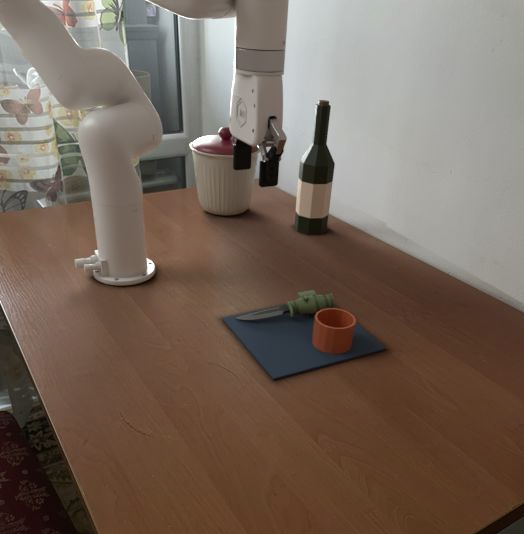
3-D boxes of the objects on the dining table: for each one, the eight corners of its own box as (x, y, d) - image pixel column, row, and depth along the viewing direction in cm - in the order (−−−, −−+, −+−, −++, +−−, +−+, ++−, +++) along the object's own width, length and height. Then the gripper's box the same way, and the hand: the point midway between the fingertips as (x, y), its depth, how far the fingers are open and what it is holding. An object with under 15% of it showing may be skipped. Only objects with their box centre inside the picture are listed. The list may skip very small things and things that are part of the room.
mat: (273, 380, 85) (273, 378, 85) (221, 319, 99) (221, 317, 99) (386, 349, 94) (386, 347, 94) (323, 298, 108) (323, 296, 108)
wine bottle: (324, 236, 135) (340, 105, 118) (291, 232, 136) (302, 102, 120) (328, 224, 142) (343, 99, 125) (296, 220, 143) (307, 96, 126)
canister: (246, 196, 157) (249, 118, 146) (266, 219, 143) (271, 134, 132) (184, 200, 152) (182, 119, 140) (199, 223, 138) (198, 136, 126)
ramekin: (325, 357, 90) (329, 332, 87) (304, 337, 95) (307, 312, 92) (359, 349, 93) (364, 323, 90) (337, 329, 98) (340, 305, 95)
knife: (336, 296, 98) (328, 285, 102) (236, 315, 96) (231, 303, 100) (337, 315, 100) (329, 304, 104) (238, 334, 98) (234, 321, 102)
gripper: (213, 54, 86) (213, 165, 96) (263, 70, 74) (257, 195, 83) (255, 55, 89) (251, 162, 99) (311, 70, 77) (300, 190, 86)
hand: (254, 177), depth 91 cm, fingers open, 9 cm apart
